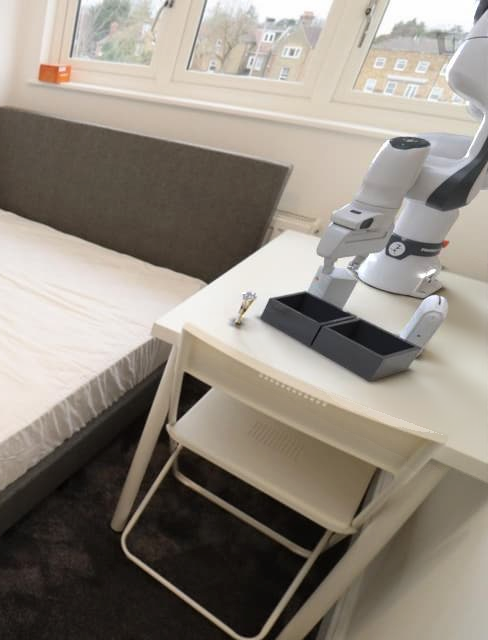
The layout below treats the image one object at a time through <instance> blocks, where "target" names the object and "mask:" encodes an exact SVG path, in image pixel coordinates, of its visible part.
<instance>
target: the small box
mask: <svg viewBox="0 0 488 640" xmlns="http://www.w3.org/2000/svg"><path fill="white" fill-rule="evenodd" d="M323 267H324V264H320V265H319V267H318V269H317V271H316V273H315V275H314V277H313V279H312V281H311V283H310V285H309V286H308V289H307V290H306V291H307V292H309V293H311V294H313V295H315V296H317V297H319V298H321V299H323V300H325V301H327V302H329V303H331V304H333V305H335V306H337V307H339V308H341V309H344V308H345V306H346V304H347V302H348V301H349V298H350V297H351V295H352V293H353V291H354V290H355V287H356V286H357V284H358V282H359V280H358V279H357V278H355V277H354V276H353V275H352V274H351V273H350V272H349V271H348V269H346V268H345V267H341V266H340V267H339V266H334V268H335V270H334V271H333V273H332V274H330V275H325V274H323V273H322V272H321V271H322V269H323Z"/></svg>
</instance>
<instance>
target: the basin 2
mask: <svg viewBox="0 0 488 640" xmlns="http://www.w3.org/2000/svg"><path fill="white" fill-rule="evenodd" d="M310 348H311V349H313V350H314V351H316V352H317V353H319V354H321V355H323V356H325V357H327V358H328V359H330V360H331V361H333V362H335V363H337V364H339V365H341V366H342V367H344V368H346V369H348V370H349V371H351V372H353V373H354V374H356V375H357V376H359V377H361V378H363V379H364V380H366V381H369V382H372V381H374V380H377V379H381V378H385V377H388V376H391V375H394V374H397V373H400V372H404V371H407V370H408V369H409V368H410V366H411V365H412V363H413V362H414V360H416V358H417V357H418V356H419V355H418V353H419V352H420V351H421V349H422V348H421V347H419V346H417V345H415V344H413V343H411V342H409V341H407V340H405V339H403V338H401V337H400V335H396V334H394V333H393V332H390V331H389V330H386V329H384V328H383V327H380V326H379V325H376V324H374V323H372V322H370V321H367V320H366V319H364V318H362V317H357V318H356V319H351V320H347V321H343V322H339V323H334V324H330V325H326V326H323V327H322V328H321V330H320V332H319V334H318V335H317V337H316V339H315V341H314V343H313V344H312V346H310ZM417 355H418V356H417ZM416 356H417V357H416Z"/></svg>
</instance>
